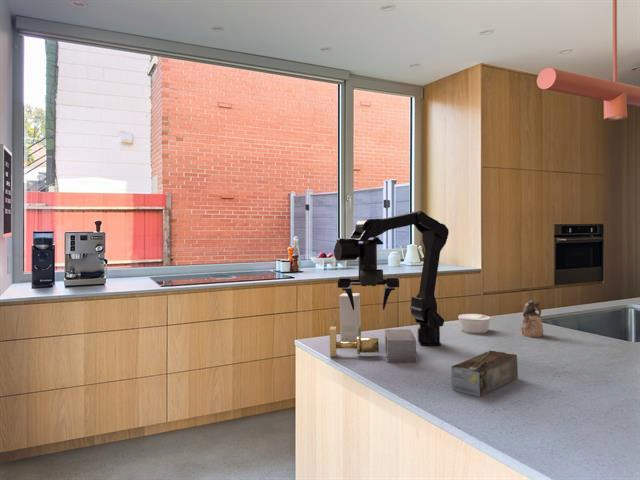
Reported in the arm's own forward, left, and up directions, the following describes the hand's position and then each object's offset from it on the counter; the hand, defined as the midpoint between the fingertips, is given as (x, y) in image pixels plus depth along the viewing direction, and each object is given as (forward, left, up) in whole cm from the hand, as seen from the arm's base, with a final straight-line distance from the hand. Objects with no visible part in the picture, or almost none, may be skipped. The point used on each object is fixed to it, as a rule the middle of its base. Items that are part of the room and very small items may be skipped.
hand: (368, 309), depth 148 cm
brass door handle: (+5, +5, -13) cm, 14 cm away
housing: (-9, +5, -13) cm, 17 cm away
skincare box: (+6, -16, -13) cm, 22 cm away
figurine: (-57, -22, -13) cm, 63 cm away
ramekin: (-39, -29, -13) cm, 50 cm away
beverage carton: (-28, +29, -14) cm, 43 cm away
